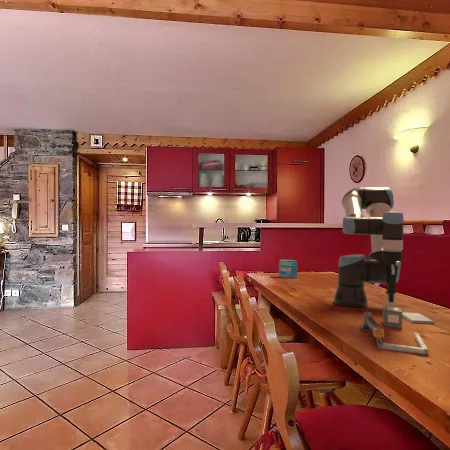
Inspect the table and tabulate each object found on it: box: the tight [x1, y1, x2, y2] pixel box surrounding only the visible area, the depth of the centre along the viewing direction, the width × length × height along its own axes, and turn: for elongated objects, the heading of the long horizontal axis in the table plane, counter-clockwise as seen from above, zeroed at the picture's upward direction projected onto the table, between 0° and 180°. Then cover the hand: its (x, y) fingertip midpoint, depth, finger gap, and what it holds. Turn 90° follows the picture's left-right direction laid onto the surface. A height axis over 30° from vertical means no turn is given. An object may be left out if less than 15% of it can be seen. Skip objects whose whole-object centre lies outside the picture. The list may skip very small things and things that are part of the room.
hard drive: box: [402, 311, 435, 325], centre depth 138 cm, size 2×8×12 cm
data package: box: [278, 259, 298, 279], centre depth 235 cm, size 12×4×12 cm, turn 87°
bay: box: [375, 332, 429, 356], centre depth 110 cm, size 16×13×2 cm
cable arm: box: [366, 316, 385, 339], centre depth 114 cm, size 16×3×2 cm, turn 168°
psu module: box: [382, 305, 403, 329], centre depth 130 cm, size 7×6×6 cm
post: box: [359, 311, 373, 333], centre depth 123 cm, size 5×5×6 cm
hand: (390, 309), depth 136 cm, fingers closed
